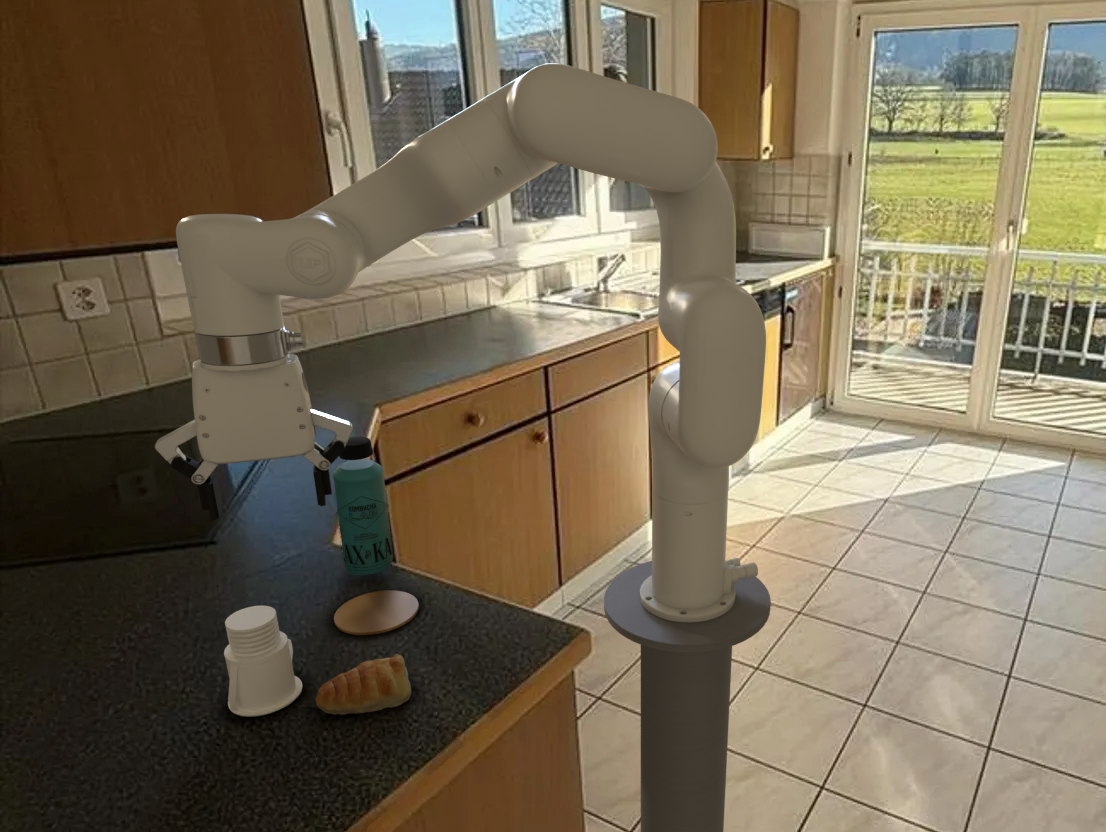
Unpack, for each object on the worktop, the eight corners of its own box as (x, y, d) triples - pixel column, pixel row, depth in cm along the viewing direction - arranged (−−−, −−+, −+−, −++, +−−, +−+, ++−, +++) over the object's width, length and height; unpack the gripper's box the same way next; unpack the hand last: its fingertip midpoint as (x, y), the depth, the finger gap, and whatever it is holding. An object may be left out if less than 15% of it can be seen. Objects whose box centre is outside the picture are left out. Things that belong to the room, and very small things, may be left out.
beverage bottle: (338, 572, 110) (318, 438, 103) (386, 557, 114) (370, 428, 108) (355, 590, 106) (335, 452, 99) (404, 575, 110) (388, 441, 103)
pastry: (320, 730, 80) (314, 699, 79) (314, 693, 86) (309, 663, 85) (416, 702, 85) (412, 673, 84) (405, 669, 90) (401, 640, 89)
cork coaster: (414, 586, 107) (413, 584, 107) (423, 624, 99) (422, 621, 99) (333, 602, 103) (332, 599, 103) (335, 642, 95) (335, 639, 94)
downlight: (269, 669, 89) (254, 592, 86) (320, 681, 88) (307, 603, 84) (208, 713, 82) (189, 632, 79) (263, 727, 80) (246, 645, 77)
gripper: (341, 334, 83) (359, 483, 89) (143, 344, 76) (177, 505, 82) (342, 350, 77) (362, 510, 82) (127, 362, 69) (166, 536, 75)
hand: (270, 507), depth 82 cm, fingers open, 9 cm apart
